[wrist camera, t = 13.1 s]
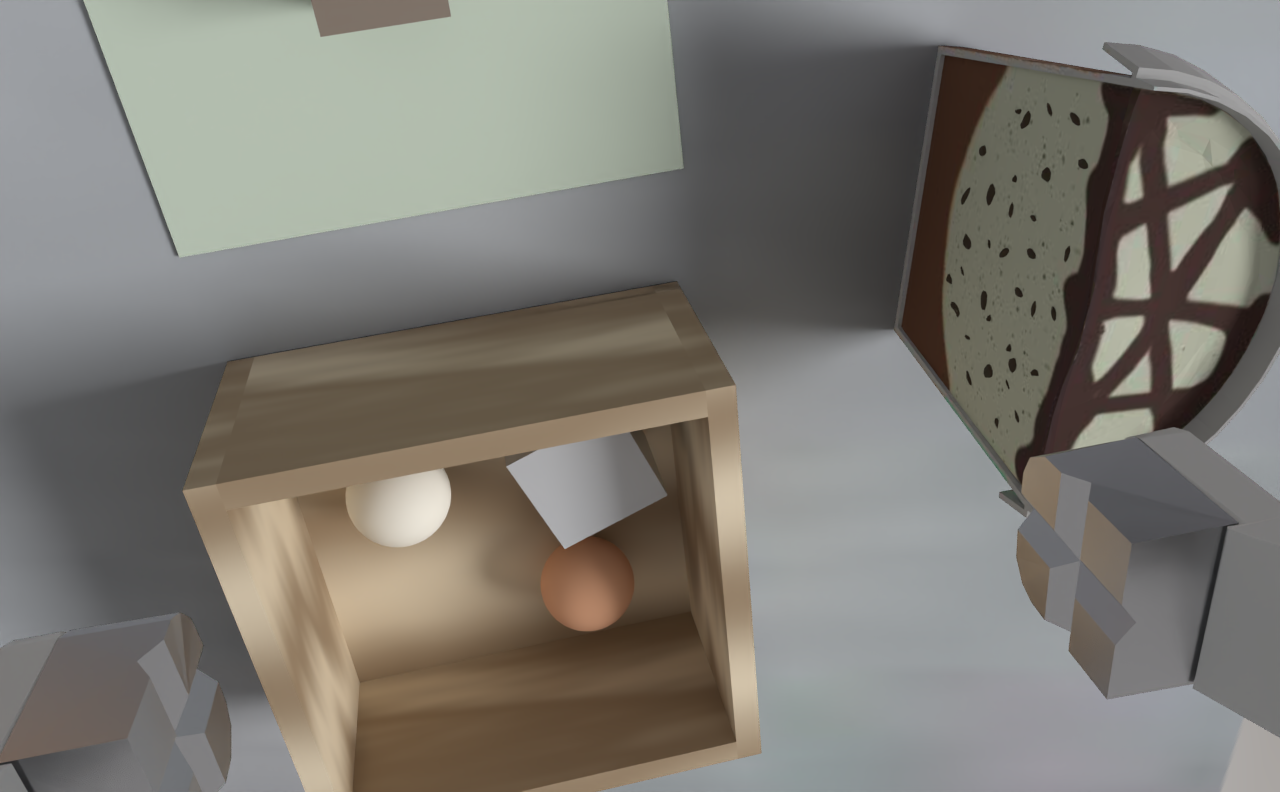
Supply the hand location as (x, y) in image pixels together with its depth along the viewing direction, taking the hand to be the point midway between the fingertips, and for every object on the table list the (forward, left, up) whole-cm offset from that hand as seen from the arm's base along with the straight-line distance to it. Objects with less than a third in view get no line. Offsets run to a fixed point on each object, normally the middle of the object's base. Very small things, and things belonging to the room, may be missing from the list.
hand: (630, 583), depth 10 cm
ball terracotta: (-16, 0, -21) cm, 27 cm away
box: (-14, +2, -22) cm, 26 cm away
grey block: (-11, -1, -21) cm, 24 cm away
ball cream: (-11, +5, -21) cm, 25 cm away
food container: (-6, -16, -22) cm, 28 cm away
